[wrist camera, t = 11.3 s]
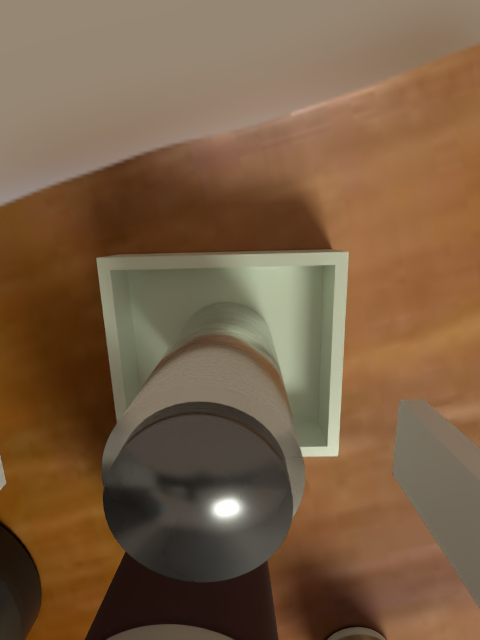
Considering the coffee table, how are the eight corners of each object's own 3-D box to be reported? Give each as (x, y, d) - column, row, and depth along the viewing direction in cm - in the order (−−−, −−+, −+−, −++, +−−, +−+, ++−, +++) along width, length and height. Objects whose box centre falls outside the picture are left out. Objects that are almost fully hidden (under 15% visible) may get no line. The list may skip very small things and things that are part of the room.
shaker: (182, 391, 21) (99, 595, 9) (176, 302, 19) (69, 405, 8) (273, 390, 20) (308, 595, 9) (273, 300, 19) (315, 402, 7)
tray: (138, 427, 22) (121, 458, 19) (119, 254, 19) (95, 257, 16) (325, 425, 22) (338, 456, 19) (332, 249, 19) (348, 251, 16)
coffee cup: (242, 426, 22) (235, 813, 7) (298, 542, 24) (379, 1022, 9) (107, 477, 23) (-135, 901, 8) (172, 584, 25) (69, 1069, 10)
